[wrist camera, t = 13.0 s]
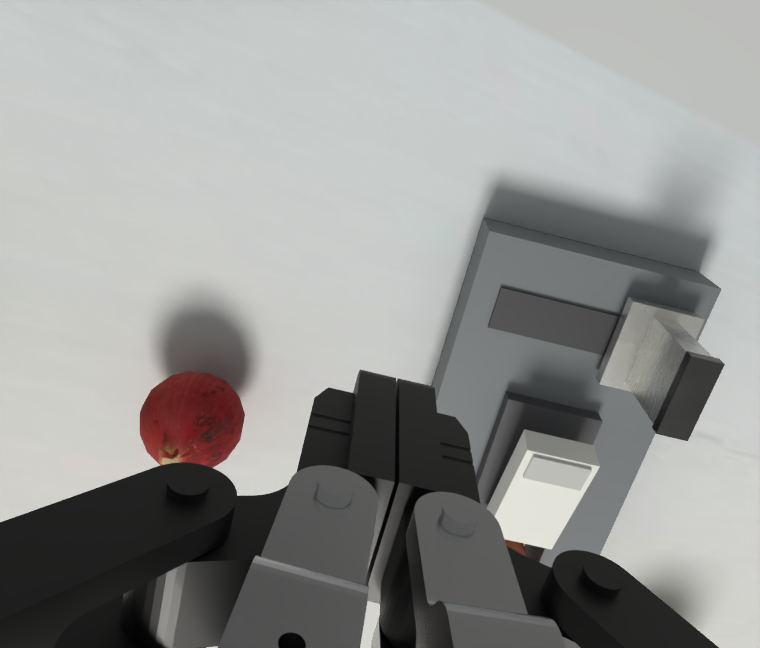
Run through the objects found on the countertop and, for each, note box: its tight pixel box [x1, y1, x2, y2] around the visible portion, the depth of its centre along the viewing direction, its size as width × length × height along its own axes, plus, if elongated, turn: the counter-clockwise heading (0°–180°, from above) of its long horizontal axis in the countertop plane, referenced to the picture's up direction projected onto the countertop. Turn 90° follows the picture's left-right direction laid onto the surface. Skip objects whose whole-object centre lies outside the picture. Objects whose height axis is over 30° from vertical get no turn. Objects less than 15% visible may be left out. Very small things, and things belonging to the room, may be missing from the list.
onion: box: [140, 371, 245, 468], centre depth 40 cm, size 6×6×8 cm
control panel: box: [375, 218, 721, 603], centre depth 43 cm, size 13×26×4 cm, turn 166°
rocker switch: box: [486, 429, 600, 550], centre depth 39 cm, size 4×7×2 cm, turn 166°
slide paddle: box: [596, 297, 724, 441], centre depth 35 cm, size 4×5×6 cm
